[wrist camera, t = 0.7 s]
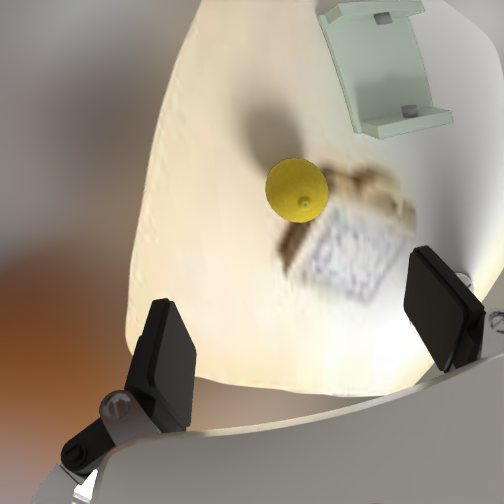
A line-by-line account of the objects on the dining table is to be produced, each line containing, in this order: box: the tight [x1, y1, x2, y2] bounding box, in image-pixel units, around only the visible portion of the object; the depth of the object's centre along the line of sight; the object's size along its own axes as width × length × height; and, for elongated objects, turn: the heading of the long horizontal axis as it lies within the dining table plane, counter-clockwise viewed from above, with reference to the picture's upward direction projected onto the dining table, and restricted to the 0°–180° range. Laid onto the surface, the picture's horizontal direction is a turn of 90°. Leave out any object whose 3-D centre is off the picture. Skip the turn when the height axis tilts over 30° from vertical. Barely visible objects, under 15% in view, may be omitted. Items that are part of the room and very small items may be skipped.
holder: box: [317, 0, 453, 139], centre depth 22 cm, size 13×10×5 cm
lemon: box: [265, 158, 328, 222], centre depth 26 cm, size 6×6×8 cm
